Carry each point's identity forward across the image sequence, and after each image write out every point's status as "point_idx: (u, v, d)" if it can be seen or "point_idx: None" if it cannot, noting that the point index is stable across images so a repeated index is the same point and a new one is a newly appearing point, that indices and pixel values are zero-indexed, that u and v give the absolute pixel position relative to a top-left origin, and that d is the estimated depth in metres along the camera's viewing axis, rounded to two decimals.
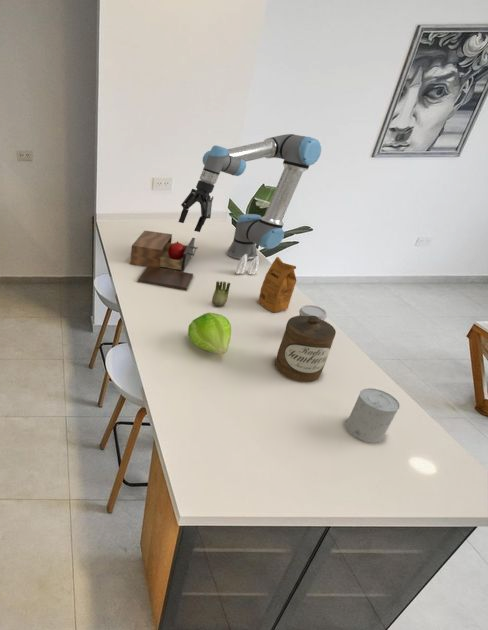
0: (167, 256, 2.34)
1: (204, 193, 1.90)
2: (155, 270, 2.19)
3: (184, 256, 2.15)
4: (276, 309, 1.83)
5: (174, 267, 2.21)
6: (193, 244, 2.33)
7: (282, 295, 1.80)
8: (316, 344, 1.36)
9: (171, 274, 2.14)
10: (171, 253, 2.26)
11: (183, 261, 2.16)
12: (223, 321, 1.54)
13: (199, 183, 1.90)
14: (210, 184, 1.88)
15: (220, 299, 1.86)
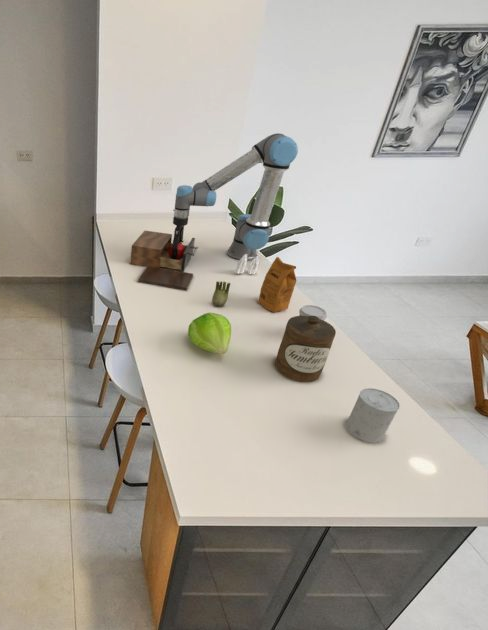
0: (167, 256, 2.34)
1: (176, 226, 2.19)
2: (155, 270, 2.19)
3: (184, 256, 2.15)
4: (276, 309, 1.83)
5: (174, 267, 2.21)
6: (193, 244, 2.33)
7: (282, 295, 1.80)
8: (316, 344, 1.36)
9: (171, 274, 2.14)
10: (171, 253, 2.26)
11: (183, 261, 2.16)
12: (223, 321, 1.54)
13: None
14: (178, 219, 2.16)
15: (220, 299, 1.86)
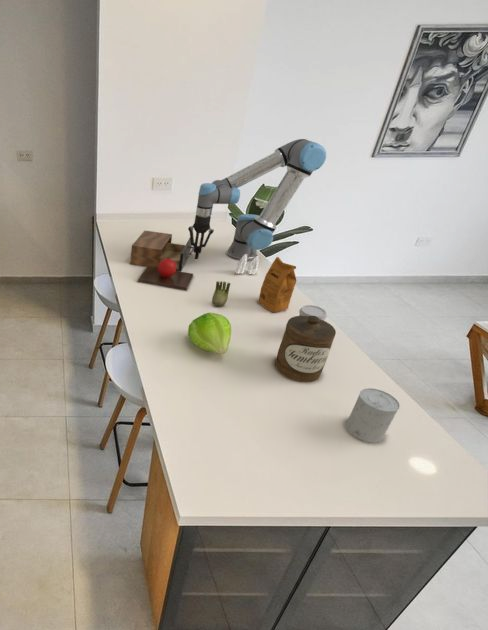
0: (165, 256, 2.34)
1: None
2: (155, 270, 2.19)
3: (181, 256, 2.15)
4: (276, 309, 1.83)
5: None
6: None
7: (282, 295, 1.80)
8: (316, 344, 1.36)
9: None
10: (160, 270, 2.08)
11: (180, 261, 2.17)
12: (223, 321, 1.54)
13: None
14: (196, 215, 2.15)
15: (220, 299, 1.86)
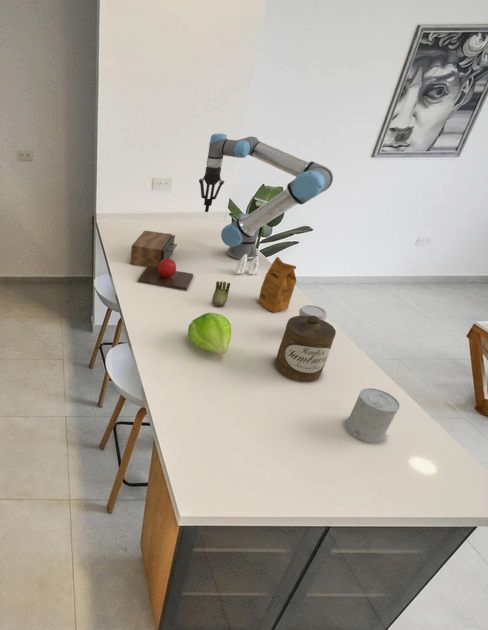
0: None
1: None
2: (155, 270, 2.19)
3: (163, 253, 2.19)
4: (276, 309, 1.83)
5: None
6: (173, 241, 2.37)
7: (282, 295, 1.80)
8: (316, 344, 1.36)
9: None
10: (160, 270, 2.08)
11: (162, 258, 2.20)
12: (223, 321, 1.54)
13: None
14: None
15: (220, 299, 1.86)
